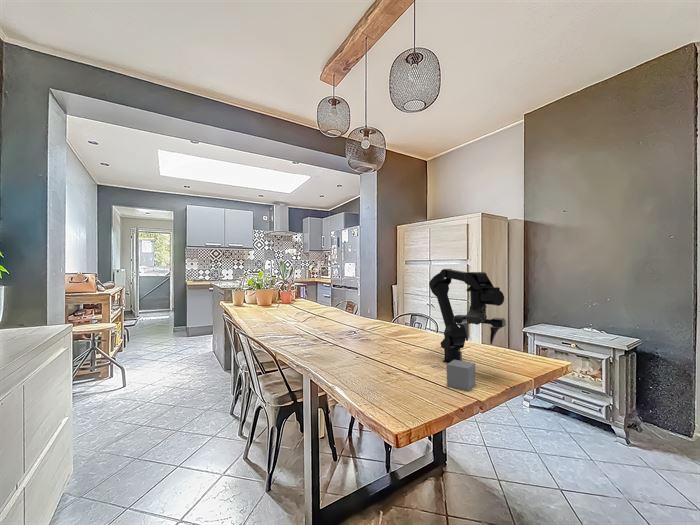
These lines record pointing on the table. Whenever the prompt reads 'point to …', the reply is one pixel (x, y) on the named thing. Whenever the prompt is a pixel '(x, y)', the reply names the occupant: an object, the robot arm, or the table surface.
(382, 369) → the table surface
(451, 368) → the concrete-looking gray cube
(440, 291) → the robot arm
